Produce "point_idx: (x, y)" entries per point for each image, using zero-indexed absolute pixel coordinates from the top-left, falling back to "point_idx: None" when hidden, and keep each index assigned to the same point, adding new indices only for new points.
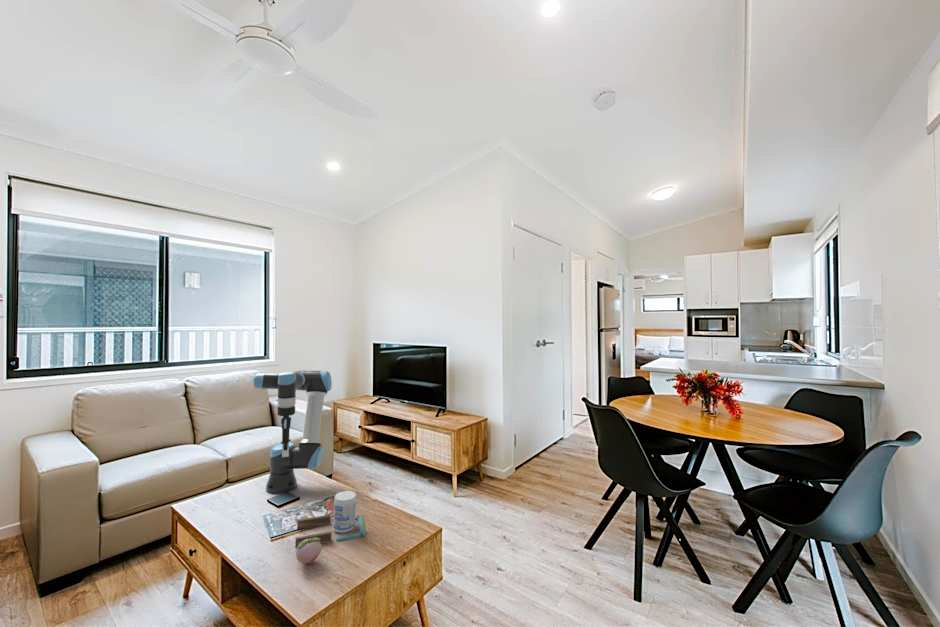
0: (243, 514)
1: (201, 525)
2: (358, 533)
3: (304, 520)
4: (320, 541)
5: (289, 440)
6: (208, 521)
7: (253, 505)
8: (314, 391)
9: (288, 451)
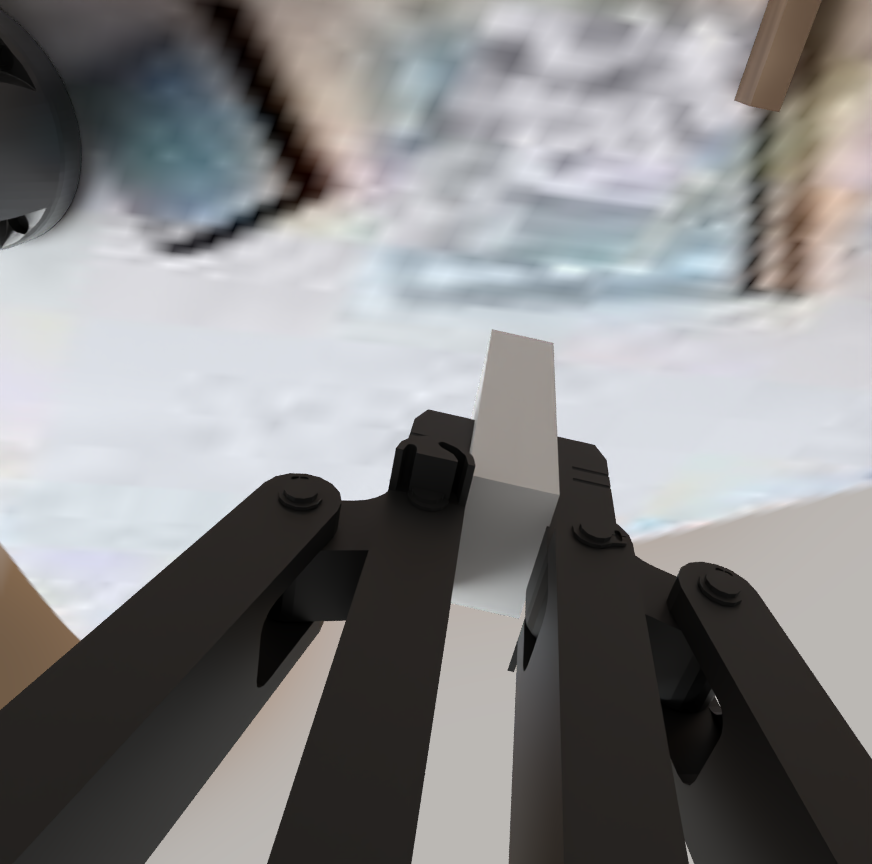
0: (331, 408)
1: None
2: None
3: (802, 47)
4: None
5: (466, 483)
6: None
7: (224, 345)
8: None
9: (552, 387)
